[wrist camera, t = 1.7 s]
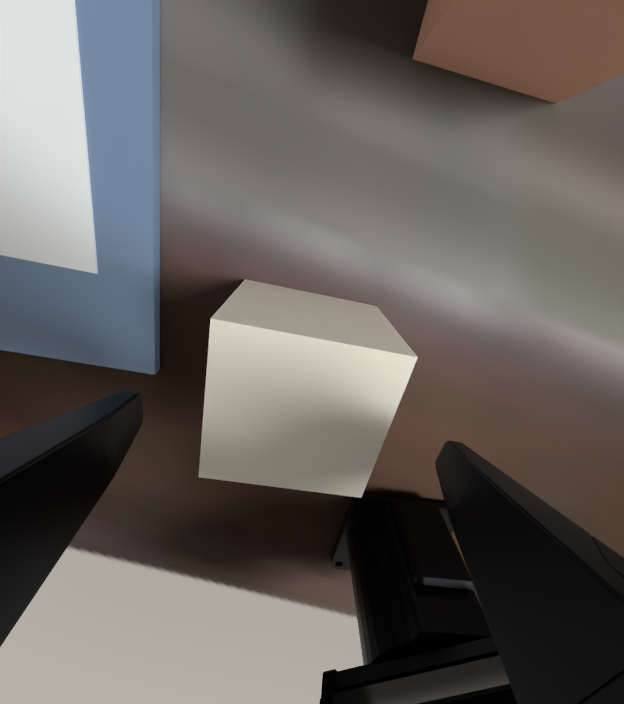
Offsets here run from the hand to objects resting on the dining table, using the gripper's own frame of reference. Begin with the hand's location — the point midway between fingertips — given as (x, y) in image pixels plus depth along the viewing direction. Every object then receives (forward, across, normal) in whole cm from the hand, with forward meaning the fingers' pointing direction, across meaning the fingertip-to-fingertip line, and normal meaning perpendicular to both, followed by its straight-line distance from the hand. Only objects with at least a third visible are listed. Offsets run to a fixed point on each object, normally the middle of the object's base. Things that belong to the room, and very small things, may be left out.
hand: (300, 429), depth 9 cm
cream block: (+5, 0, 0) cm, 5 cm away
